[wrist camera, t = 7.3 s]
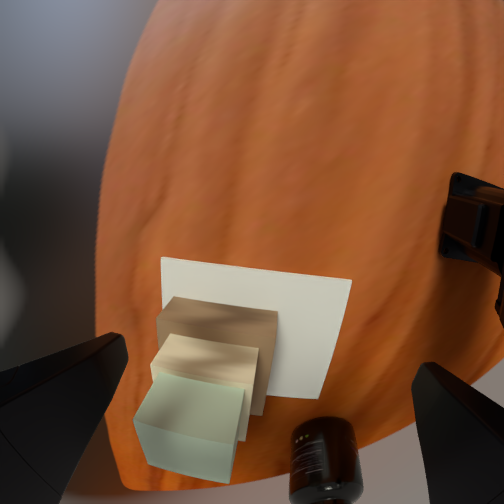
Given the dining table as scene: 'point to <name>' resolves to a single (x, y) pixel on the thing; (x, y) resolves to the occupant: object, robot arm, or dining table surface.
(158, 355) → the birch block
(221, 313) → the walnut slab
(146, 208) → the dining table surface
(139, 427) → the sage block
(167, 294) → the grey mat
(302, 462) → the supplement bottle
